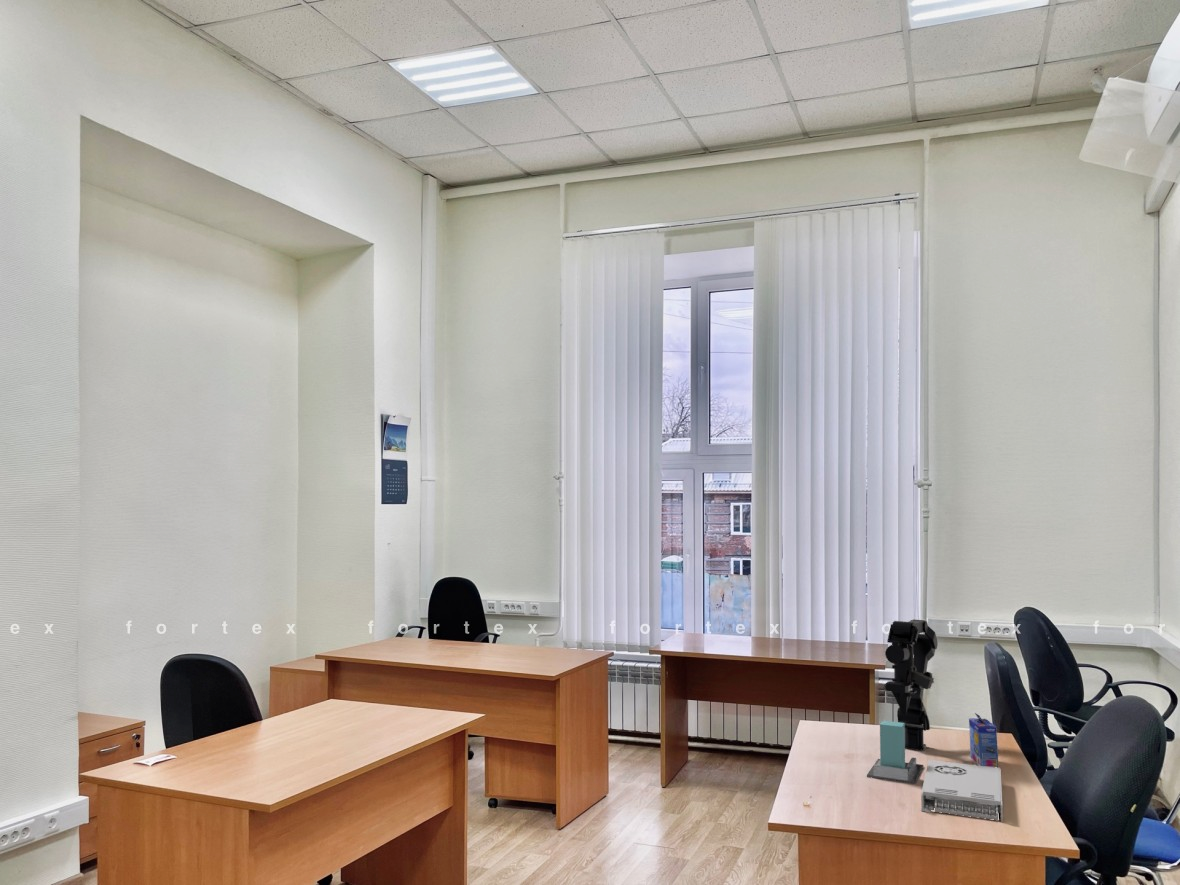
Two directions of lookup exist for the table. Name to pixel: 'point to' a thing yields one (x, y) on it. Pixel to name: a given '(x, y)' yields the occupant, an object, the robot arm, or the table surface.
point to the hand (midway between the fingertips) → (904, 713)
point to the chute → (897, 772)
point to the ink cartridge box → (983, 742)
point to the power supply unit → (962, 790)
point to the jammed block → (892, 744)
